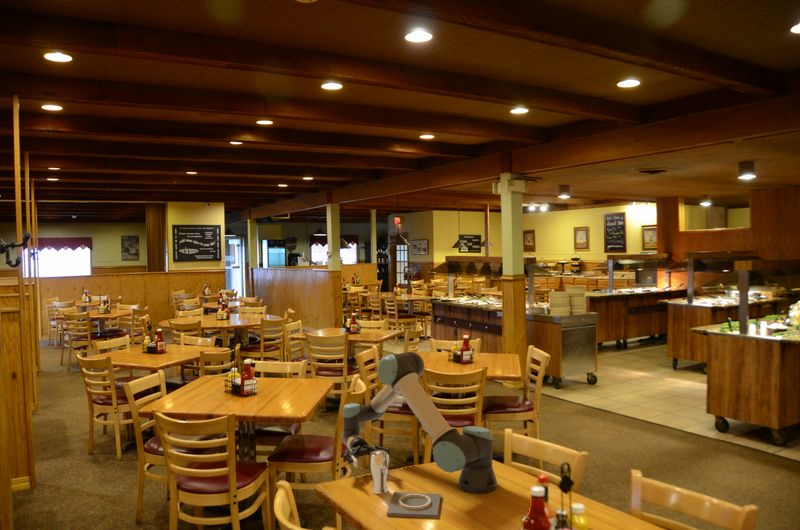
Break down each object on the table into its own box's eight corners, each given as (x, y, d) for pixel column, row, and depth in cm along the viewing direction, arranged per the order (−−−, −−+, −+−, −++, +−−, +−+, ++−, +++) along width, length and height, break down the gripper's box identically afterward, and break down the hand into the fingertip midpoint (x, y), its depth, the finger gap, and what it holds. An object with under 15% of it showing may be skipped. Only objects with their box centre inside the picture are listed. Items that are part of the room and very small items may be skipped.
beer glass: (386, 495, 225) (386, 456, 225) (369, 494, 226) (368, 455, 226) (390, 488, 232) (389, 450, 231) (373, 487, 233) (372, 449, 233)
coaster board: (440, 497, 223) (440, 491, 223) (437, 518, 205) (437, 512, 205) (393, 495, 225) (393, 489, 225) (386, 516, 207) (386, 509, 207)
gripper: (384, 450, 261) (401, 466, 241) (330, 458, 252) (342, 475, 232) (384, 433, 261) (401, 448, 241) (329, 440, 252) (342, 456, 232)
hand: (372, 461), depth 237 cm, fingers open, 13 cm apart
